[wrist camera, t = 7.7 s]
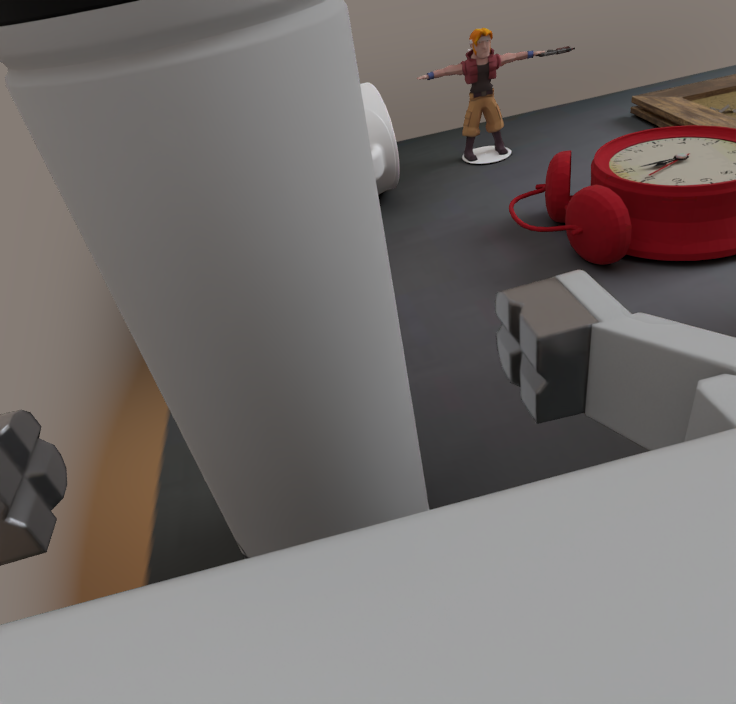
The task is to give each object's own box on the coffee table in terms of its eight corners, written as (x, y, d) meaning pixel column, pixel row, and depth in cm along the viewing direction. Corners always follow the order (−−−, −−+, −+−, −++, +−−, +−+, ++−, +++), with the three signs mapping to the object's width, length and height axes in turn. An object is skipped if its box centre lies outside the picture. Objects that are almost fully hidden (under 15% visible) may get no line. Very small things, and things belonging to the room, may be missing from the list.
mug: (265, 197, 48) (236, 96, 44) (371, 169, 49) (355, 68, 45) (285, 256, 39) (251, 137, 34) (416, 221, 40) (402, 100, 35)
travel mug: (262, 670, 17) (-338, -346, 5) (251, 499, 22) (-62, -199, 11) (463, 608, 18) (328, -451, 6) (405, 455, 23) (273, -260, 11)
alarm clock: (872, 172, 27) (563, 157, 26) (805, 288, 31) (531, 280, 30) (745, 114, 36) (507, 101, 34) (704, 210, 39) (488, 202, 38)
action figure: (560, 132, 49) (564, 5, 44) (575, 141, 47) (580, 9, 41) (422, 161, 49) (408, 38, 43) (430, 173, 47) (416, 44, 41)
